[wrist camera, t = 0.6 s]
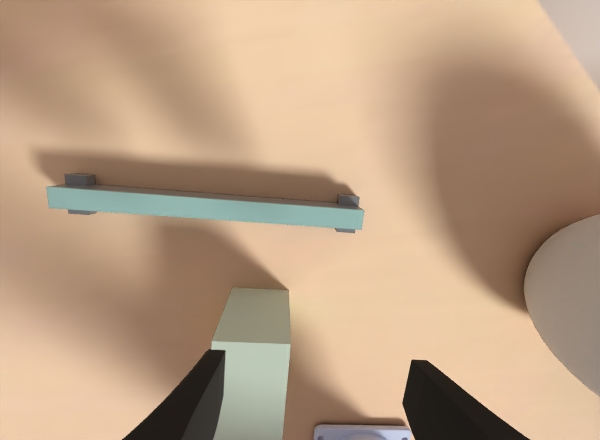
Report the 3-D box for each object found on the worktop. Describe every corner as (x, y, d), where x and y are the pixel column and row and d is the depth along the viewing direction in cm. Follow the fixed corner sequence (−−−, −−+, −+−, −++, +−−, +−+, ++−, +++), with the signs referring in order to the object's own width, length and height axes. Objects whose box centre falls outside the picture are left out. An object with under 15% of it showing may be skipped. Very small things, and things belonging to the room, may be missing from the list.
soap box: (281, 372, 22) (281, 452, 16) (229, 370, 21) (208, 451, 16) (288, 289, 20) (290, 344, 14) (232, 286, 20) (210, 341, 14)
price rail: (351, 229, 19) (360, 239, 17) (77, 211, 18) (50, 218, 16) (356, 195, 19) (365, 200, 17) (74, 173, 18) (45, 175, 15)
